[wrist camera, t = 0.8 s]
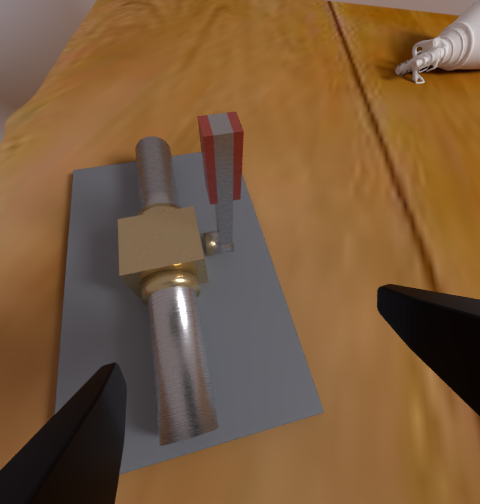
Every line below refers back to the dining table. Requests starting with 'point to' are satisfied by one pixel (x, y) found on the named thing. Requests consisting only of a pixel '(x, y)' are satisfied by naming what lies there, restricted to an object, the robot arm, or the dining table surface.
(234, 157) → the lever
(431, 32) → the dining table surface
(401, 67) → the rocket engine
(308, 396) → the mounting board
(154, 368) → the valve
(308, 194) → the dining table surface
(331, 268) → the dining table surface
